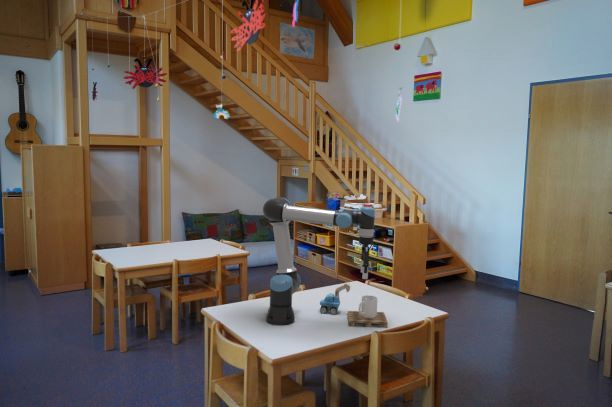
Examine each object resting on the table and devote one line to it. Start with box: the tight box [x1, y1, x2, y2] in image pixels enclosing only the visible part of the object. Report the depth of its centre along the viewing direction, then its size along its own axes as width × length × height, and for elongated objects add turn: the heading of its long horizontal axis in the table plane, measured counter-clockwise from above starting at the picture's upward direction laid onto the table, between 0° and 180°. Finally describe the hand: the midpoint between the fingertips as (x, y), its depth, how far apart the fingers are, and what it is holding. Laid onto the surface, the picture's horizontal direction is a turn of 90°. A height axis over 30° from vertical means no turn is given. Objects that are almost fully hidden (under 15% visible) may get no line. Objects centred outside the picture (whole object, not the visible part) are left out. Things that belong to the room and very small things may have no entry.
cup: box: [358, 294, 378, 318], centre depth 262 cm, size 8×12×10 cm
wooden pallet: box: [346, 310, 389, 329], centre depth 263 cm, size 20×16×3 cm
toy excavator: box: [319, 282, 351, 315], centre depth 277 cm, size 9×17×17 cm, turn 78°
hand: (364, 275), depth 263 cm, fingers open, 13 cm apart
